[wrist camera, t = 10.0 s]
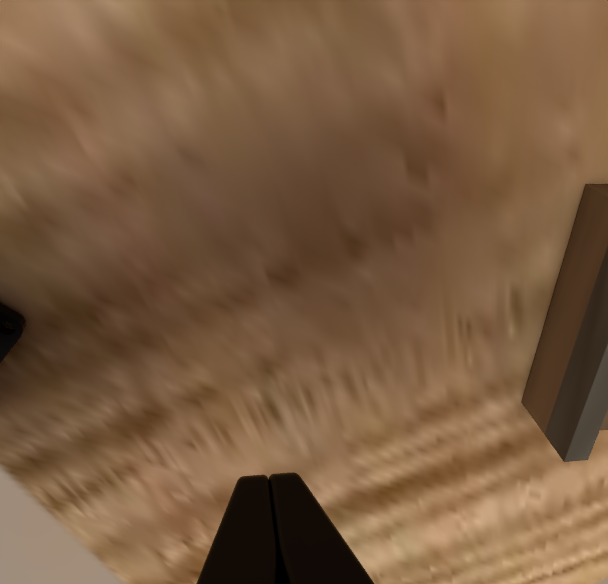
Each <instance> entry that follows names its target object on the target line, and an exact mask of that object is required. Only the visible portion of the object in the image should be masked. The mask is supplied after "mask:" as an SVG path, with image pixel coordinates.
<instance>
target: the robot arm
mask: <svg viewBox="0 0 608 584" xmlns="http://www.w3.org/2000/svg"><path fill="white" fill-rule="evenodd" d="M6 322H7V323H10V324H12V325H13V326H14V328H13V329H10V328H7V327H5V326H4V325H3V323H6ZM25 327H26V321H25V319H24V317H23V316H22V315H21V314H19V313H18V312H16V311H14V310H12V309H11V308H9V307H7V306H5V305H3V304H1V303H0V362H1V361H2V360H3V358H4V357H5V356H6V355H7V353H8V352H9V351H10V350H11V348H12V347H13V346H14V344H15V343H16V342H17V341H18V339H19V338H20V337H21V335H22V333H23V331H24V329H25ZM197 584H374V582H373V581H372V579H371V578H370V577H369V575H368V574H367V572H366V571H365V569H364V568H363V566H362V565H361V564H360V562H359V561H358V559H357V558H356V556H355V555H354V553H353V552H352V551H351V549H350V548H349V546H348V545H347V543H346V542H345V540H344V539H343V538H342V536H341V535H340V533H339V532H338V530H337V529H336V527H335V526H334V524H333V523H332V522H331V520H330V519H329V517H328V516H327V514H326V513H325V511H324V510H323V509H322V507H321V506H320V504H319V503H318V501H317V500H316V498H315V497H314V496H313V494H312V493H311V491H310V490H309V488H308V487H307V485H306V484H305V483H304V481H303V480H302V478H301V477H300V476H299V475H298V474H297V473H280V474H272V475H271V476H270V477H269V480H268V477H267V476H265V475H253V476H243V477H240V478H239V480H238V481H237V483H236V486H235V488H234V491H233V493H232V496H231V498H230V501H229V503H228V506H227V508H226V511H225V513H224V516H223V518H222V521H221V523H220V526H219V528H218V531H217V533H216V536H215V538H214V541H213V543H212V546H211V549H210V551H209V554H208V556H207V559H206V561H205V564H204V566H203V569H202V571H201V574H200V576H199V579H198V581H197Z"/></svg>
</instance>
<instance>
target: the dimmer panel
mask: <svg viewBox="0 0 608 584" xmlns="http://www.w3.org/2000/svg"><path fill="white" fill-rule="evenodd" d="M522 404H523V405H524V407H525V408H526V409H527V411H528V412H529V413H530V415H531V416H532V418H533V419H534V420H535V422H536V423H537V425H538V426H539V427H540V429H541V430H542V432H543V433H544V434H545V436H546V437H547V439H548V440H549V441H550V443H551V444H552V446H553V447H554V448H555V450H556V451H557V453H558V454H559V455H560V457H561V458H562V460H563V461H564V462H569V461H580V460H588V458H589V455H590V453H591V450H592V448H593V445H594V443H595V440H596V438H597V435H598V433H599V430H608V184H586V186H585V190H584V193H583V197H582V200H581V203H580V207H579V210H578V213H577V217H576V220H575V224H574V227H573V230H572V234H571V237H570V240H569V244H568V247H567V251H566V254H565V257H564V261H563V264H562V267H561V271H560V274H559V278H558V281H557V284H556V288H555V291H554V294H553V298H552V301H551V305H550V308H549V311H548V315H547V318H546V322H545V325H544V328H543V332H542V335H541V338H540V342H539V345H538V349H537V352H536V355H535V359H534V362H533V365H532V369H531V372H530V376H529V379H528V382H527V386H526V389H525V392H524V396H523V399H522Z"/></svg>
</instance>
